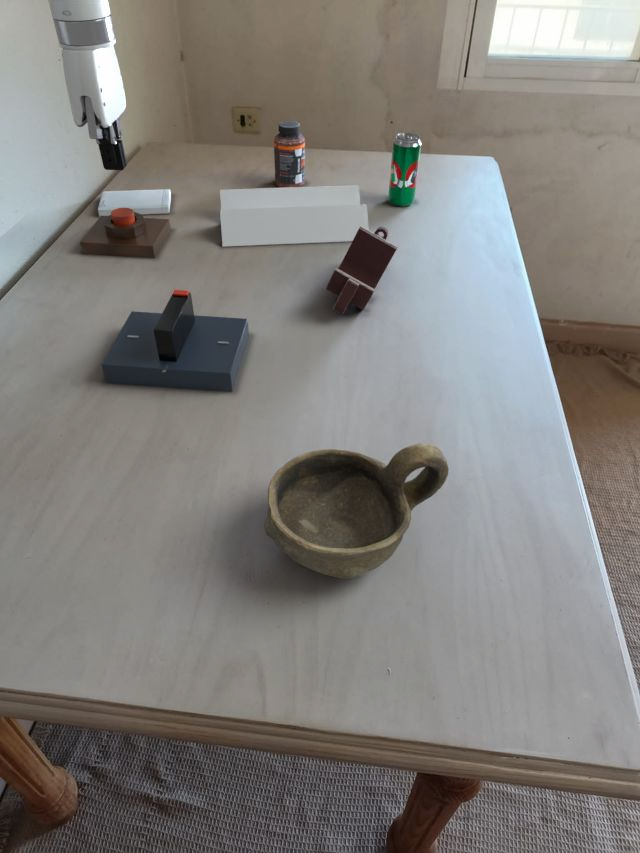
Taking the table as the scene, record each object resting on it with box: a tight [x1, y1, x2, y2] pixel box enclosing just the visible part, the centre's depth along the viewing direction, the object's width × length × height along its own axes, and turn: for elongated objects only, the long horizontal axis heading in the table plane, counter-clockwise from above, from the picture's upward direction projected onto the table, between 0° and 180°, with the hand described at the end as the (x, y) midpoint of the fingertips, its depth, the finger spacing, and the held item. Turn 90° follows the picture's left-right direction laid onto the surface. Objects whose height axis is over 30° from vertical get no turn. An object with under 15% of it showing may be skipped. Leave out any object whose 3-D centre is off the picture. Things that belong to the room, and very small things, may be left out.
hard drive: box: [97, 188, 172, 218], centre depth 116 cm, size 2×8×12 cm
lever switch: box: [100, 311, 250, 393], centre depth 81 cm, size 16×13×3 cm
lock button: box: [111, 208, 135, 226], centre depth 103 cm, size 4×4×2 cm
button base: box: [79, 212, 172, 259], centre depth 105 cm, size 12×10×4 cm
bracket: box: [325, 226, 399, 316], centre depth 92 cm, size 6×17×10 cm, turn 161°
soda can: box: [387, 132, 422, 208], centre depth 115 cm, size 5×5×12 cm
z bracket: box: [219, 184, 370, 248], centre depth 109 cm, size 12×25×6 cm
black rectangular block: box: [154, 289, 195, 362], centre depth 79 cm, size 9×2×5 cm, turn 174°
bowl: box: [264, 442, 449, 580], centre depth 59 cm, size 14×18×10 cm
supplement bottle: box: [273, 120, 306, 188], centre depth 121 cm, size 6×6×11 cm
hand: (115, 167), depth 98 cm, fingers closed
